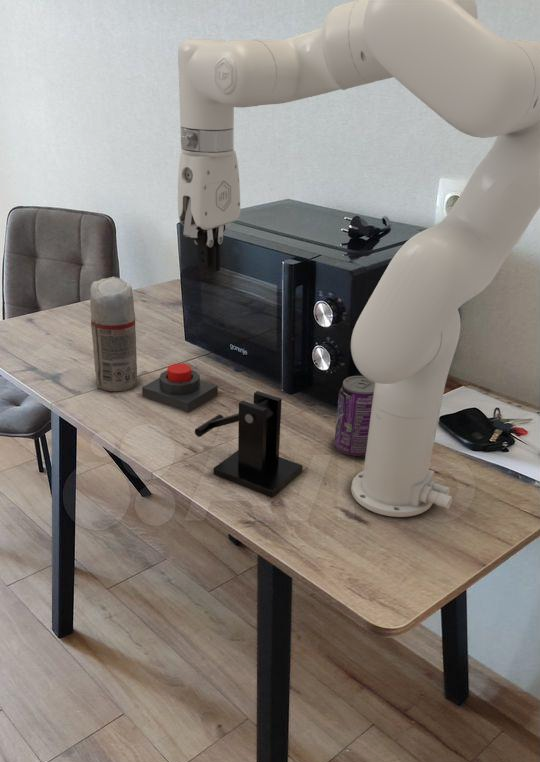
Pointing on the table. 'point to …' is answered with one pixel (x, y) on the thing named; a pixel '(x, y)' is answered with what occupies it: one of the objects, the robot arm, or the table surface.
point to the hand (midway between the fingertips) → (209, 270)
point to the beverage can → (354, 415)
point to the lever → (228, 419)
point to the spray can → (113, 334)
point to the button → (179, 372)
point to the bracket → (259, 450)
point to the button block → (180, 392)
